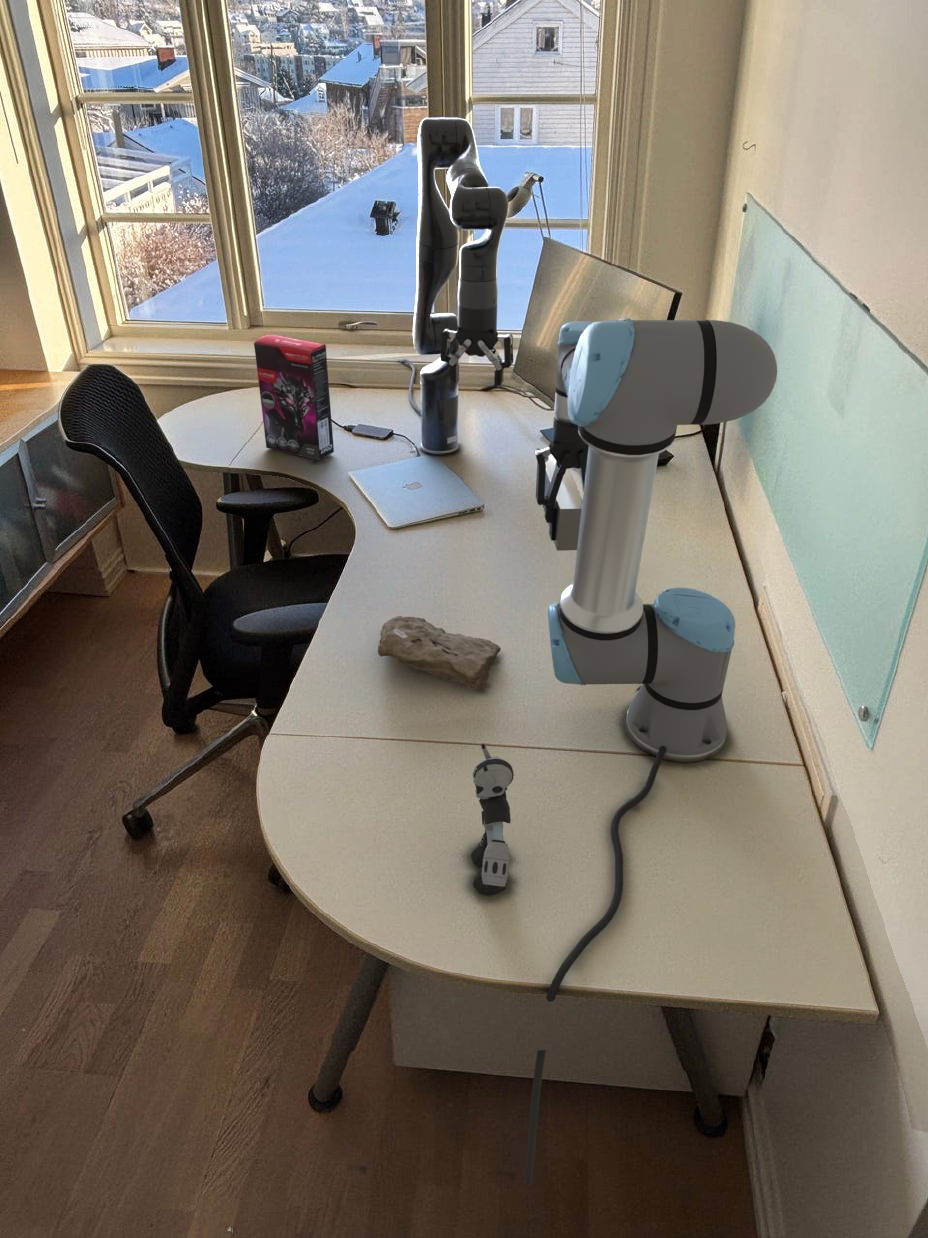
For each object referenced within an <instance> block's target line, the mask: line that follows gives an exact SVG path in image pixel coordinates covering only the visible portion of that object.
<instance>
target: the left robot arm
mask: <svg viewBox="0 0 928 1238" xmlns="http://www.w3.org/2000/svg"><path fill="white" fill-rule="evenodd" d="M417 162H418V163H417V164H418V166H417V167H418V194H419V195H418V214H417V215H418V216H417V235H416V292H415V303H414V304H415V305H414V314H413V324H412V342H413V348H414V351H415V352H416V354H417V355H419V356H427V357H428V356H439V358H437V359H436V360H435V361H434V362H432V363H429V364H427V365H426V366H424V367H422V369H421V371H420V373H419V381H420V384H419V385H420V408H419V407H418V405H416V403H415V400H414V398H413V388H414V383H415V378H416V373H417V372H416V371H417V370H416V367H415V365H413V363H412V362H411V361H410V360H409V359H407V358H402V359H400V361H399V363H400V364H403V363H406V364H407V365H408V366H409V368H411V370H412V372H411V373H412V374H411V379H410V381H409V388H408V398H409V399H408V400H409V401H410V404H411V406H412V407H413V409H414V410H415V411H416V412H417V413H418V414H419V415H420V431H421V432H420V436H421V437H420V439H421V442H420V449H421V450H422V451H423V452H424V453H426V454H429V455H430V454H431V455H435V456H440V455H441V456H444V455H449V454H453V453H455V452H457V451H458V450H459V382H460V359H461V358H462V356H463V355H464V354H466V355H467V356H470V357H473V356H477V357H478V358H480V357H481V358H483V357H486V359H488V361H489V362H490V363H491V364H492V365H493V367H494V368H495V369H494V378H493V379H494V382H493V384H494V385H493V387H494V389H499V388H500V386H502V384H503V382H504V369H509V368H511V366H512V365H513V363H514V336H513V334H512V333H508V334H505V335H502V334H499V333H498V330H497V329H498V328H497V326H498V324H497V323H498V297H499V296H498V294H499V293H498V292H499V291H498V281H497V280H498V278H497V277H498V255H499V248H500V244H501V240H502V235H503V233H504V230H505V226H506V222H507V219H508V215H509V210H510V208H509V207H510V206H509V205H510V204H509V198H508V196H507V194H506V192H505V191H504V189H503V188H501V187H498V186H490V185H489V182H488V180H487V178H486V176H485V173H484V172H483V170H482V167H481V165H480V159H479V152H478V148H477V143H476V137H475V133H474V130H473V127H472V125H471V123H470V122H469V121H468V120H467V119H466V118H465V119H464V118H460V117H425V118H423V119H422V120H421V122H420V124H419V127H418V133H417ZM436 170H447V173H446V183H447V188H448V190H449V192H450V195H451V198H450V204H449V208H448V206H447V205H446V203H445V200H444V198H443V197H442V195H441V192H440V190H439V188H438V185H437V182H436V175H435V172H436ZM460 230H461V231H485V232H484V234H483V235H482V237H480V238H479V239H477V240H474V241H470V242H468V243H465V244H463V245H462V246H461V247H460V235H461V234H460ZM458 262H459V265H458ZM457 266H459V267H458V268H459V270H458V272H459V273H458V277H459V278H458V286H457V296H456V298H457V299H456V300H457V315H456V314H455V313H453V312H444V313H432V311H433V308H434V304H435V302H436V301H437V298H438V295H439V294H440V292H441V291H442V290H443V288H444V286H445V285H446V284H447V282H448V281H449V280H450V278H451V276H452V275H453V274H454V271H455V270H456V268H457ZM498 342H499V343H500V346H501V347H502V348H503V356H504V357H503V358H502V356H501V355H500V353H499V351H498V349H497V348H496V344H497V343H498ZM402 360H403V361H402ZM404 361H405V362H404Z"/></svg>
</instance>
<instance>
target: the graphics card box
mask: <svg viewBox="0 0 928 1238" xmlns="http://www.w3.org/2000/svg"><path fill="white" fill-rule="evenodd" d="M253 346H254V347H253V349H254V355H255V362H256V370H257V371H256V372H257V379H258V388H259V397H260V405H261V415H262V423H263V431H264V439H265V448H266V449H270V450H274V451H279V452H281V453H282V452H283V453H287V454H292V455H295V456H300V457H303V458H308V459H312V460H317V461H320V460H323V459H324V458H326V457H328V456H330V455H332V454H333V453H334V452H335V448H334V435H333V422H332V421H333V420H332V411H331V410H332V409H331V397H330V384H329V371H328V370H329V368H328V357H327V345H326V343H318V342H313V341H308V340H302V339H297V338H291V337H287V336H282V335H276V334H271V333H269V334H266V335H263V336H261V337H259V338H258V339H256V340H255V341H253Z"/></svg>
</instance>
